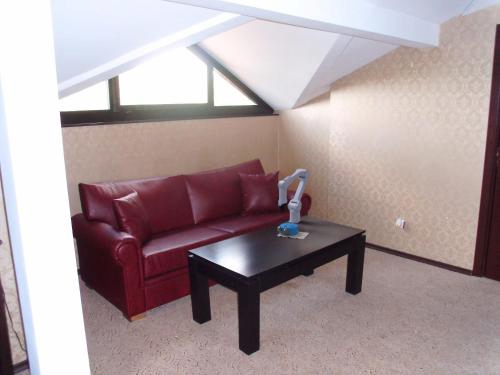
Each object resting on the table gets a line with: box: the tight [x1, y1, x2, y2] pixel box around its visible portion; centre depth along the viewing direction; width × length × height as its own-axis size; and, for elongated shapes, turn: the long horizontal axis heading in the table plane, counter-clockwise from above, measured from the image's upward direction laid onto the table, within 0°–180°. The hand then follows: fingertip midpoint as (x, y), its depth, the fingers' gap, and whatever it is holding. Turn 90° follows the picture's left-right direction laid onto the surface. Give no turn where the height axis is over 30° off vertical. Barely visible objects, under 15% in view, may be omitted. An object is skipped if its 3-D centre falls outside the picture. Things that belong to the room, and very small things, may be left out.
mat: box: [277, 231, 310, 240], centre depth 301 cm, size 14×20×1 cm
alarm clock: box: [276, 222, 299, 236], centre depth 303 cm, size 13×6×15 cm
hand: (282, 212), depth 322 cm, fingers closed
